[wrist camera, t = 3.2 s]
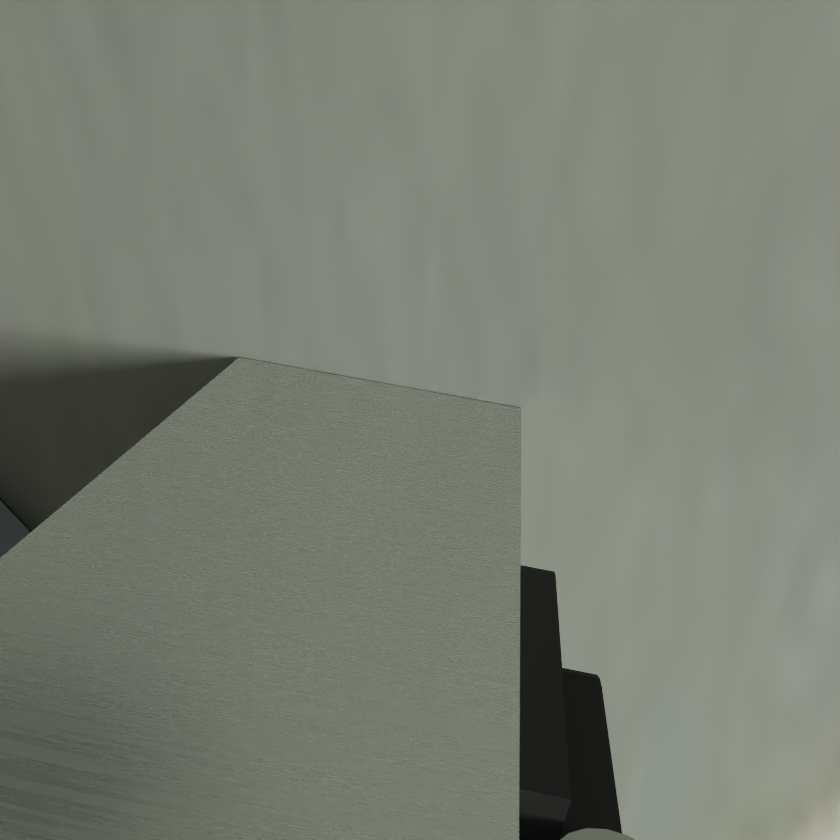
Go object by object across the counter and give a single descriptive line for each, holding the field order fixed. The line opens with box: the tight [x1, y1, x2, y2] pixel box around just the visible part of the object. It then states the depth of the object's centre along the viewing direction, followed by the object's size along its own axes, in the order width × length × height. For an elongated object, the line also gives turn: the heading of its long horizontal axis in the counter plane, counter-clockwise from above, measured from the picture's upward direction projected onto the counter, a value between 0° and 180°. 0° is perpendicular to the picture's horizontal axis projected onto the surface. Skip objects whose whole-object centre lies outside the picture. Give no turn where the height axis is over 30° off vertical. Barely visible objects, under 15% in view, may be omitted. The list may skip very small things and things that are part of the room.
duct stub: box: [0, 357, 521, 840], centre depth 9 cm, size 5×5×12 cm
